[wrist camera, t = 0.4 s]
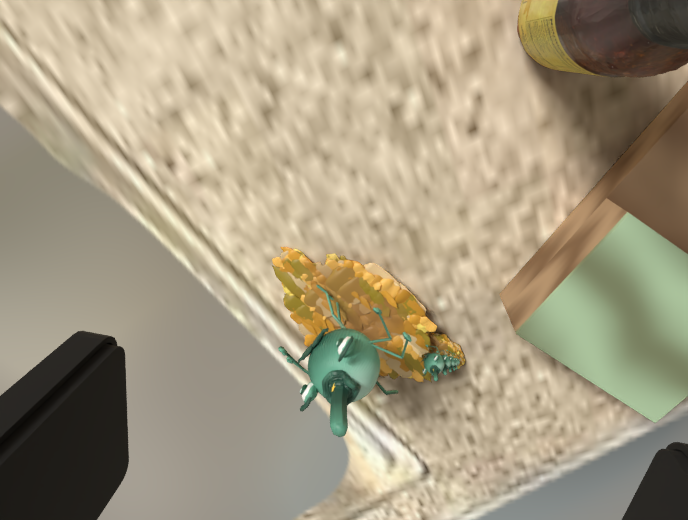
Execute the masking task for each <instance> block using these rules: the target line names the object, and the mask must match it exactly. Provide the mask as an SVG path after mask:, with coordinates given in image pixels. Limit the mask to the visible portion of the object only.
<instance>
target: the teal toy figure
mask: <svg viewBox="0 0 688 520" xmlns="http://www.w3.org/2000/svg"><path fill="white" fill-rule="evenodd" d="M281 249H282V250H283V251H284V252H282V253H281V256H280V257H277V258H274V259H273V258H272V261H273V264H274V265H275V266H276V267H274V266H273V268H274V271H275V275H276V276H277V278H278V279H279V280H280V281H281V282H282V286H283V289H284V291H285V293H286V294H285V297H284V299H283V301H284V305H285V307H286V308H287V309H288V310H290V311H291V315H290V317H291V318H292V319H293V320H294V321H295V322H297V323H298V324H299V330H300V332H301V333H302V334H303V335H304V336H305V342H304V344H305V345H306V346H309V347H308V348H307V349H306V351H305V352H304V353H303V355H302V357H301V358H300V359H299V360H298V362H297V361H295V360H294V359H293V358H292V357H291V356H290V355H289V354H288V353H287V351H286V350H285V349H284V347H282V346H280V347H279V351H280V352H282V354H283V355H287V356H288V357H287V362H289V363H294V364H295V365H296V366H298V367H299V368H300V369H302V370H303V371H304V372H305V373H307V374H308V375H309V377H310V380H311V382H310V383H309V384H308V385H303V387H302V389H301V390H300V393H301V395H302V398H303V401H304V402H305V404H304V405H302V406H301V408H300V411H304V410H305V409H306V408H307V407H308V406H309V404H310V402H311V401H312V400H314V398H315V397H316V396H317V393H318V392H319V393H320V394H321V395H322V396H323V397H324V398H326V399H327V401H328V402H329V403H330V404H331V410H330V427H331V429H332V432H333V434H334V435H336V436H338V437H342V436H344V435H345V434H346V431H347V428H348V423H347V405H348V404H350V403H351V402H355V401H358V400H360V399H362V398H363V397H365V396H366V395H367V394H368V393H369V392H370V391H371V390H372V389H373V387H374V386H375V384H377V385H378V386H379V387H380V389H381V390H382V391H383V392H384V393H385V394H386V395H388V394H397V393H398V391H397V390H392V391H387V392H386V390H385V389H384V388H383V387H382V386H381V385H380V383H379V382H378V381H377V379H378V377H379V376H380V375H381V376H383V375H384V376H388V374H389V376H390V377H391V378H392V379H396V378H397V377H398V376H399V375H400V376H401V377H403V378H414V379H415V380H416V381H417V382H423V379H424V378H425V379H427V380H429V381H430V382H431V375H432V376H433V375H434V381H438V374H439V373H440V372H441V371H443V372H442V373H443V374H444V375H447V369H449V372H452V369H451V368H453V370H454V371H455V367H456V369H460V366H463V365H464V363H465V359H464V354H463V352H462V350H461V348H460V347H461V346H460V345H459V344H457V343H453V342H452V341H450V340H449V339H448V338H447V335H445V334H442V335H441V334H438V333H436V334H435V333H434V332H436V329H437V326H436V325H435V324H434V323H433V322H431V321H430V319H428V318H427V317H426V316H425V313H426V309H425V307H424V306H423V305H422V304H421V303H420V302H419V301H418V300H417V299H416V298H415V296H414V295H412V293H411V292H410V291H409V290H408V289H407V288H406V287H404V286H403V285H402V283H398V282H397V280H396V279H394V278H393V277H392V276H391V275H390V274H389V273H388V272H386V271H385V270H384V269H382V268H381V267H379V266H378V265H376V264H375V263H369V264H365V265H362V264H360V263H359V262H357V261H351V260H347V259H346V258H345V256H340V259H339V258H338V257H337V255H336V254H328V255H326V256H327V259H326V261H325V262H326V263H325V265H322V264H321V262H317V264H316V263H312V262H311V261H310V260H309V259H308V258H307V257H306V256H305V255H304V254H303V253H302V252H301V251H299V250H297V249H294V250H292V249H291V248H288V247H281ZM428 331H429V332H432V334H433V335H432V334H430V333H428V334H427V333H426V332H428ZM310 353H311V354H310ZM309 354H310V357H309V361H308V371H307V370H306V369H304V368H303V367H302V366H301V365H300V364H299V362H300V361H301V360H304V359H305V358H306V357H307V356H308V355H309ZM384 376H383V377H384Z"/></svg>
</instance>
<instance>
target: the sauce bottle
mask: <svg viewBox="0 0 688 520" xmlns="http://www.w3.org/2000/svg"><path fill="white" fill-rule="evenodd" d="M517 31H518V35H519V37H520V40H521V42H522V45H523V46H524V49H525V51H526V52H527V53H528V54H529V55H530V56H531V57H532V58H533V59H534V60H535V61H536V62H538V63H539V64H540V65H542V66H545V67H547V68H550V69H554V70H560V71H568V72H575V73H583V74H590V75H597V76H604V77H625V76H627V77H647V76H655V75H657V74H663V73H666V72H669V71H673V70H677V69H678V68H680V67H681V66H683V65H685V64H687V63H688V0H522V3H521V6H520V10H519V15H518V27H517Z"/></svg>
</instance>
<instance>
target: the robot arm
mask: <svg viewBox="0 0 688 520" xmlns="http://www.w3.org/2000/svg"><path fill="white" fill-rule="evenodd" d="M126 399H127V398H126V369H125V352H124V349H123V348H122V347H120V346H117V342H116V340H115V338H113V337H111V336H107V335H102V334H96V333H91V332H85V331H78V332H77V333H75V334H74V335H72V336H71V337H70V338H69V339H67V340H66V341H65V342H64V343H63V344H61V345H60V346H59V347H58V348H57V349H56V350H54V351H53V352H52V353H51V354H50V355H49V356H47V357H46V358H45V359H44V360H42V361H41V362H40V363H39V364H38V365H36V367H34V368H33V369H32V370H31V371H29V372H28V373H27V374H26V375H25V376H24V377H22V378H21V379H20V380H19V381H17V382H16V383H15V384H14V385H13V386H11V388H9V389H8V390H7V391H6V392H4V393H3V394H2V395H1V396H0V520H97V519H98V517H99V516H100V514H101V513H102V511H103V510H104V508H105V507H106V505H107V504H108V502H109V501H110V499H111V497H112V496H113V495H114V493H115V492H116V490H117V488H118V487H119V485H120V484H121V482H122V481H123V479H124V476H125V474H126V471H127V468H128V462H129V455H128V427H127V400H126ZM622 520H688V444H685V443H679V442H674V443H671V444H670V445H668V446H667V448H666V449H661V450H659V451H658V452H657V453H656V455H655V457H654V458H653V460H652V463H651V464H650V466H649V468H648V470H647V472H646V474H645V476H644V478H643V480H642V482H641V484H640V486H639V488H638V490H637V492H636V493H635V495H634V497H633V499H632V501H631V503H630V505H629V507H628V509H627V511H626V513H625V515H624V517H623V519H622Z"/></svg>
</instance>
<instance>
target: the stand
mask: <svg viewBox="0 0 688 520" xmlns="http://www.w3.org/2000/svg"><path fill="white" fill-rule="evenodd" d="M499 295H500V297H501V299H502V302H503V304H504V306H505V309H506V311H507V313H508V316H509V318H510V320H511V323H512V325H513V327H514V330H515V332H516V334H517V335H519V336H520V337H522V338H523V339H525V340H526V341H528V342H529V343H531V344H533V345H534V346H536V347H537V348H539V349H540V350H542V351H544V352H545V353H547V354H548V355H550V356H551V357H553V358H554V359H556V360H558V361H559V362H561V363H562V364H564V365H565V366H567V367H568V368H570V369H572V370H573V371H575V372H576V373H578V374H579V375H581V376H582V377H584V378H586V379H587V380H589V381H590V382H592V383H593V384H595V385H596V386H598V387H600V388H601V389H603V390H604V391H606V392H607V393H609V394H610V395H612V396H614V397H615V398H617V399H618V400H620V401H621V402H623V403H624V404H626V405H628V406H629V407H631V408H632V409H634V410H635V411H637V412H638V413H640V414H642V415H643V416H645V417H646V418H648V419H649V420H651V421H652V422H654V423H656V422H657V421H658V420H660V419H661V418H662V417H663V416H664V415H666V414H667V413H668V412H669V411H670V410H672V409H673V408H674V407H675V406H676V405H678V404H679V403H680V402H681V401H682V400H684V399H685V398H686V397H687V396H688V81H687V83H686V84H685V85H684V86H683V87H682V88H681V89H680V91H679V92H678V93H677V94H676V95H675V96H674V97H673V98H672V100H671V101H670V102H669V103H668V104H667V105H666V106H665V108H664V109H663V110H662V111H661V112H660V113H659V114H658V115H657V117H656V118H655V119H654V120H653V121H652V122H651V123H650V124H649V126H648V127H647V128H646V129H645V130H644V131H643V132H642V134H641V135H640V136H639V137H638V138H637V139H636V140H635V141H634V143H633V144H632V145H631V146H630V147H629V148H628V149H627V150H626V152H625V153H624V154H623V155H622V156H621V157H620V158H619V160H618V161H617V162H616V163H615V164H614V165H613V166H612V167H611V169H610V170H609V171H608V172H607V173H606V174H605V175H604V176H603V178H602V179H601V180H600V181H599V182H598V183H597V184H596V186H595V187H594V188H593V189H592V190H591V191H590V192H589V193H588V195H587V196H586V197H585V198H584V199H583V200H582V201H581V203H580V204H579V205H578V206H577V207H576V208H575V209H574V210H573V212H572V213H571V214H570V215H569V216H568V217H567V218H566V219H565V221H564V222H563V223H562V224H561V225H560V226H559V227H558V229H557V230H556V231H555V232H554V233H553V234H552V235H551V236H550V238H549V239H548V240H547V241H546V242H545V243H544V244H543V245H542V247H541V248H540V249H539V250H538V251H537V252H536V253H535V255H534V256H533V257H532V258H531V259H530V260H529V261H528V262H527V264H526V265H525V266H524V267H523V268H522V269H521V270H520V271H519V273H518V274H517V275H516V276H515V277H514V278H513V279H512V281H511V282H510V283H509V284H508V285H507V286H506V287H505V288H504V290H503V291H502V292H501V293H500V294H499Z"/></svg>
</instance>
